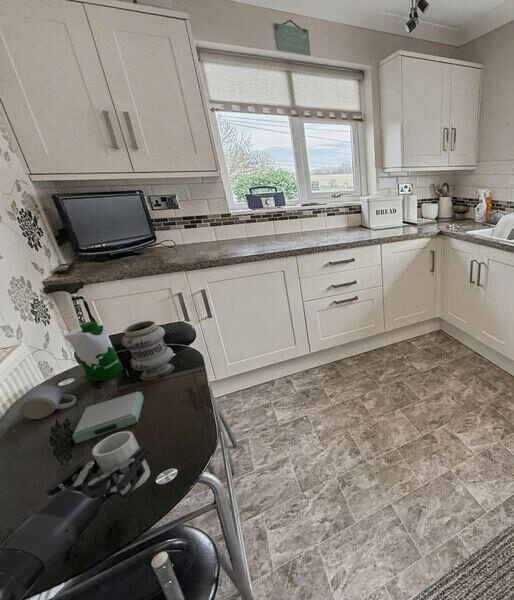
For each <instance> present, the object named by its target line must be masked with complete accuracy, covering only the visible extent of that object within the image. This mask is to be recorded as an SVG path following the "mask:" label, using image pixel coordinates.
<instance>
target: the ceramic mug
mask: <svg viewBox="0 0 514 600" xmlns="http://www.w3.org/2000/svg"><path fill="white" fill-rule="evenodd" d="M62 400H71V401H70V402H65V403H60V402H61V401H62ZM76 403H77V396H75V395H73V394H69V393H63V391H62V389H61V388H60V387H58V386H56V385H53V384H48V383H47V384H46V383H45V384H44V383H43V384H39V385H35V386H33V387H31V388H30V389H28V391H26V393H25V395H24V398H23V400H22V402H21V404H20V408H19V411H20V414H21V416H22V417H23V418H26V419H28V420H42V419H45V418H47V417H49V416H51V415H52V414H53V413H54V412H55V411H56V410H63V409H69V408H71V407H73V406H74V405H75V404H76Z"/></svg>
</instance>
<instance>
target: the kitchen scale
mask: <svg viewBox="0 0 514 600" xmlns="http://www.w3.org/2000/svg"><path fill="white" fill-rule="evenodd" d="M144 399H145V397H144V395H143V392H142V391H135V392H131V393H127V394H125V395H122V396H119V397H115V398H112V399H109V400H106V401H102V402H99V403H96V404H92V405H89V406H86V408H85V409H84V412H83V414H82V415H81V417H80V419H79V422H78V424H77V425H76V428H75V429H74V431H73V433H72V436H71V437H72V439H73V441H74V442H75V444H79V443H82V442H85V441H88V440H90V439H94V438H96V437H99V436H103V435H104V434H105V435H106V434H108V433H110V432H111V433H112V432H114V431H117V430H120V429H122V428H125V427H129V426H131V425H134V424H137V423H139V419H140V415H141V411H142V407H143V402H144ZM138 418H139V419H138ZM136 422H137V423H136Z"/></svg>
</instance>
